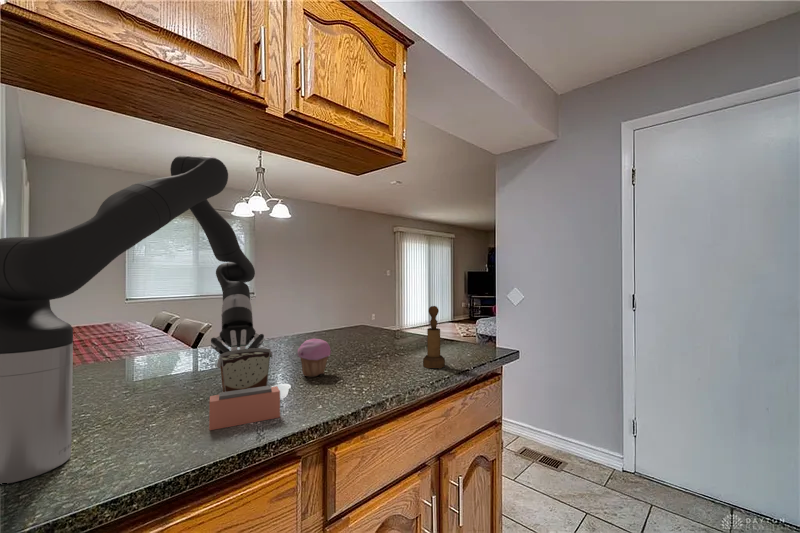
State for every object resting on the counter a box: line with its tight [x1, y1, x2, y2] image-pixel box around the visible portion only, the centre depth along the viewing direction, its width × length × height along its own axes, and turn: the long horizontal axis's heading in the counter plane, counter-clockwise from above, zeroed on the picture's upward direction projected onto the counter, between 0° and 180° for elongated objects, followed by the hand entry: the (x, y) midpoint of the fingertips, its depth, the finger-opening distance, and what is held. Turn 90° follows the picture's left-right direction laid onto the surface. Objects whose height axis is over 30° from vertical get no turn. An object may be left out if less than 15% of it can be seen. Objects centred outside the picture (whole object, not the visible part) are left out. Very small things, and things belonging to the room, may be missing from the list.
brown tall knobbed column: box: [422, 305, 446, 369], centre depth 105 cm, size 7×6×18 cm
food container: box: [216, 347, 273, 392], centre depth 80 cm, size 12×6×10 cm, turn 141°
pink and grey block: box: [208, 385, 281, 431], centre depth 66 cm, size 12×4×6 cm, turn 118°
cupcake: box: [297, 337, 332, 378], centre depth 96 cm, size 9×9×10 cm
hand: (239, 370), depth 84 cm, fingers closed
